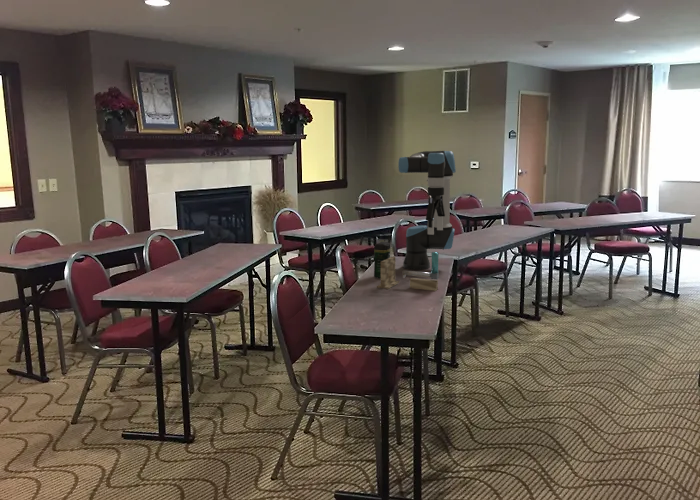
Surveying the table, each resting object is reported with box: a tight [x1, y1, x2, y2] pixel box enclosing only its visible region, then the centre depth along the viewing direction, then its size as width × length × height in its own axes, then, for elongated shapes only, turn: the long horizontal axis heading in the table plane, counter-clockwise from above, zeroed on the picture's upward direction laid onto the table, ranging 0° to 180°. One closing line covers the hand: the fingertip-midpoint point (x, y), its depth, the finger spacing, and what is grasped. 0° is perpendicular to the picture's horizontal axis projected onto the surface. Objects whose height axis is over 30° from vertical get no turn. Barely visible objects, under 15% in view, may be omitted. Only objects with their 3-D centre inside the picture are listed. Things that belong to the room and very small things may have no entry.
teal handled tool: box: [402, 251, 440, 280], centre depth 278 cm, size 3×18×13 cm, turn 63°
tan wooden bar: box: [409, 277, 439, 292], centre depth 279 cm, size 3×13×4 cm, turn 63°
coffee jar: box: [373, 241, 391, 279], centre depth 304 cm, size 10×8×19 cm
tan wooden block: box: [376, 256, 400, 290], centre depth 286 cm, size 14×6×13 cm, turn 153°
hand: (435, 232), depth 272 cm, fingers open, 13 cm apart
